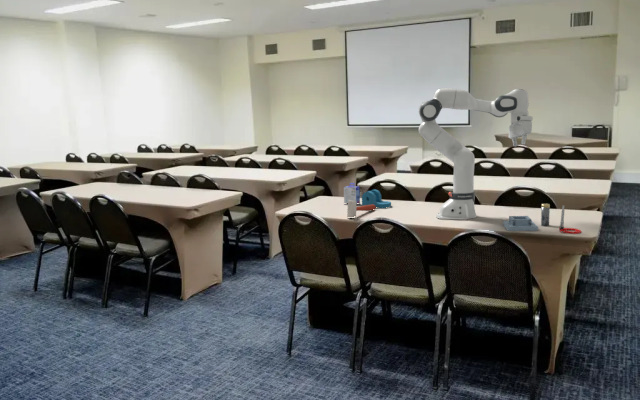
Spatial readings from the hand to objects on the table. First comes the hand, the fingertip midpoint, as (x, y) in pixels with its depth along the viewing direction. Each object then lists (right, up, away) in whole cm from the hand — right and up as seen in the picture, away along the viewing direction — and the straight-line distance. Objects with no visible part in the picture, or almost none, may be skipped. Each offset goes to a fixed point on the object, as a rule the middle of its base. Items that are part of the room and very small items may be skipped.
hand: (519, 145), depth 278 cm
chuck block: (-6, -44, -16) cm, 47 cm away
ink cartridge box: (-86, -33, +73) cm, 117 cm away
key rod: (+8, -43, -15) cm, 46 cm away
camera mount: (-70, -34, +60) cm, 98 cm away
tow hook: (+13, -45, -30) cm, 56 cm away
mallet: (-82, -39, +37) cm, 98 cm away
